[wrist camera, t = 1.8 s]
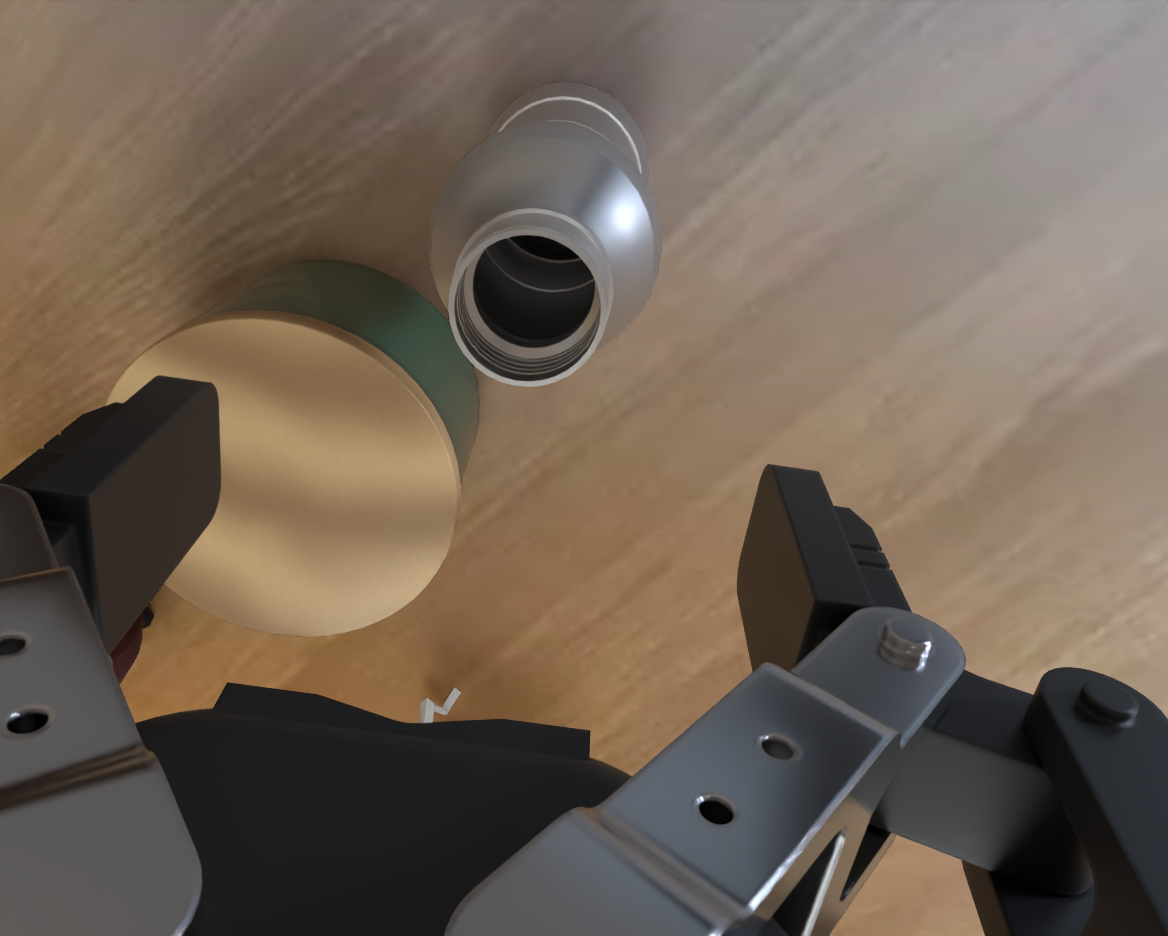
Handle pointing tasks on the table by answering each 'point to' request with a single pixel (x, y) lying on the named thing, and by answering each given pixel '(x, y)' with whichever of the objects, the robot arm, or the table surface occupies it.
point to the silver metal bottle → (546, 235)
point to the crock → (322, 446)
